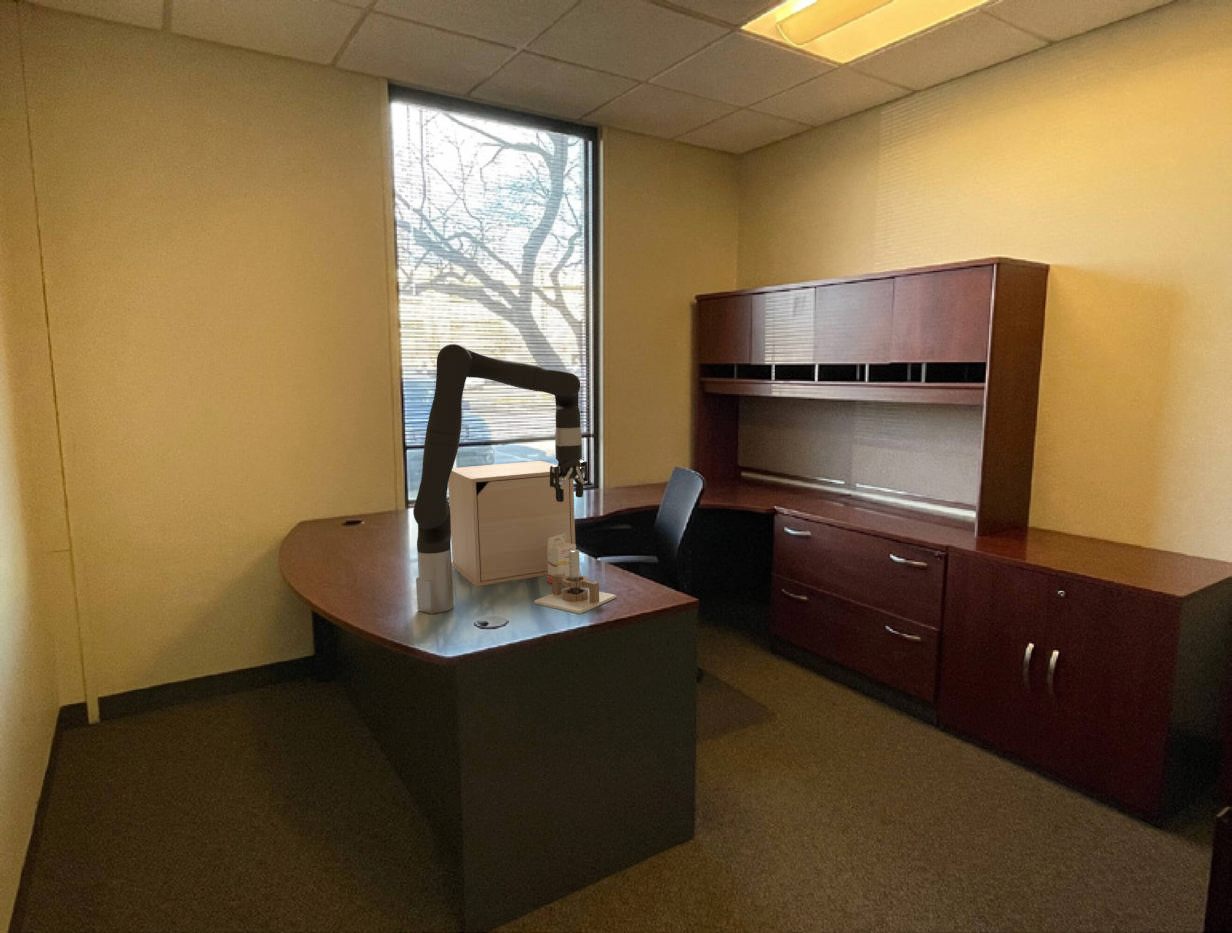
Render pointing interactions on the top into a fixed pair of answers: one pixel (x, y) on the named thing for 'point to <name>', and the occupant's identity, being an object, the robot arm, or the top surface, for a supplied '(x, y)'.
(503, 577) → the cabinet
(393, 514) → the top surface
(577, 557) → the tube
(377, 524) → the top surface
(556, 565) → the ink cartridge box
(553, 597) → the dock
